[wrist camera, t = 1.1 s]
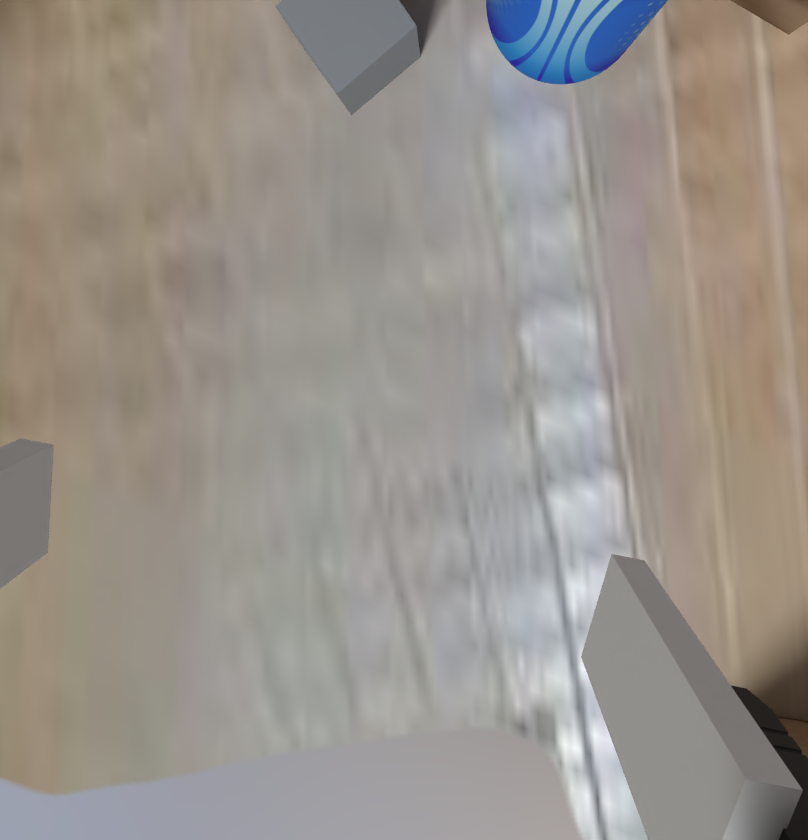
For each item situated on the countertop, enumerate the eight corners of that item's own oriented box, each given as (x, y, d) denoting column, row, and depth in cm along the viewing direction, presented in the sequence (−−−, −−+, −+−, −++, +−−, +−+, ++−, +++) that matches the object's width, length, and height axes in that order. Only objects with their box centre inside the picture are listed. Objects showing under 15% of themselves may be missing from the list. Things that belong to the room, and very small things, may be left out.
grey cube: (298, 40, 37) (275, 6, 32) (366, -21, 36) (354, -66, 31) (351, 115, 38) (337, 93, 33) (420, 57, 37) (416, 25, 32)
